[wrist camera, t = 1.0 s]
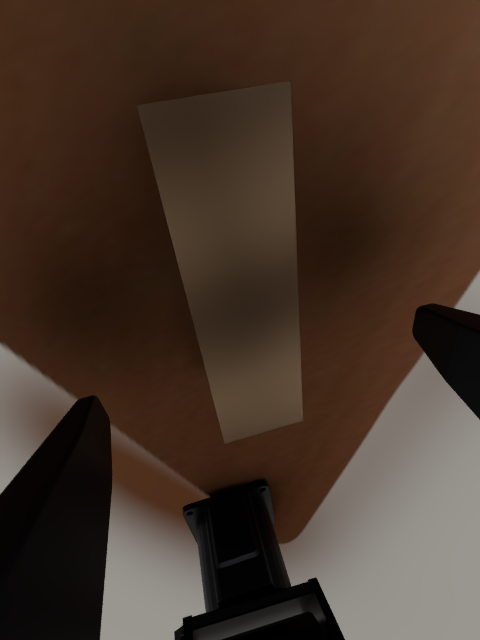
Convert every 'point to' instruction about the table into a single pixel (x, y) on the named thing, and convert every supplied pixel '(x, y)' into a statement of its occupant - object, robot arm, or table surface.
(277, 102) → the brown wooden block
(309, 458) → the table surface
